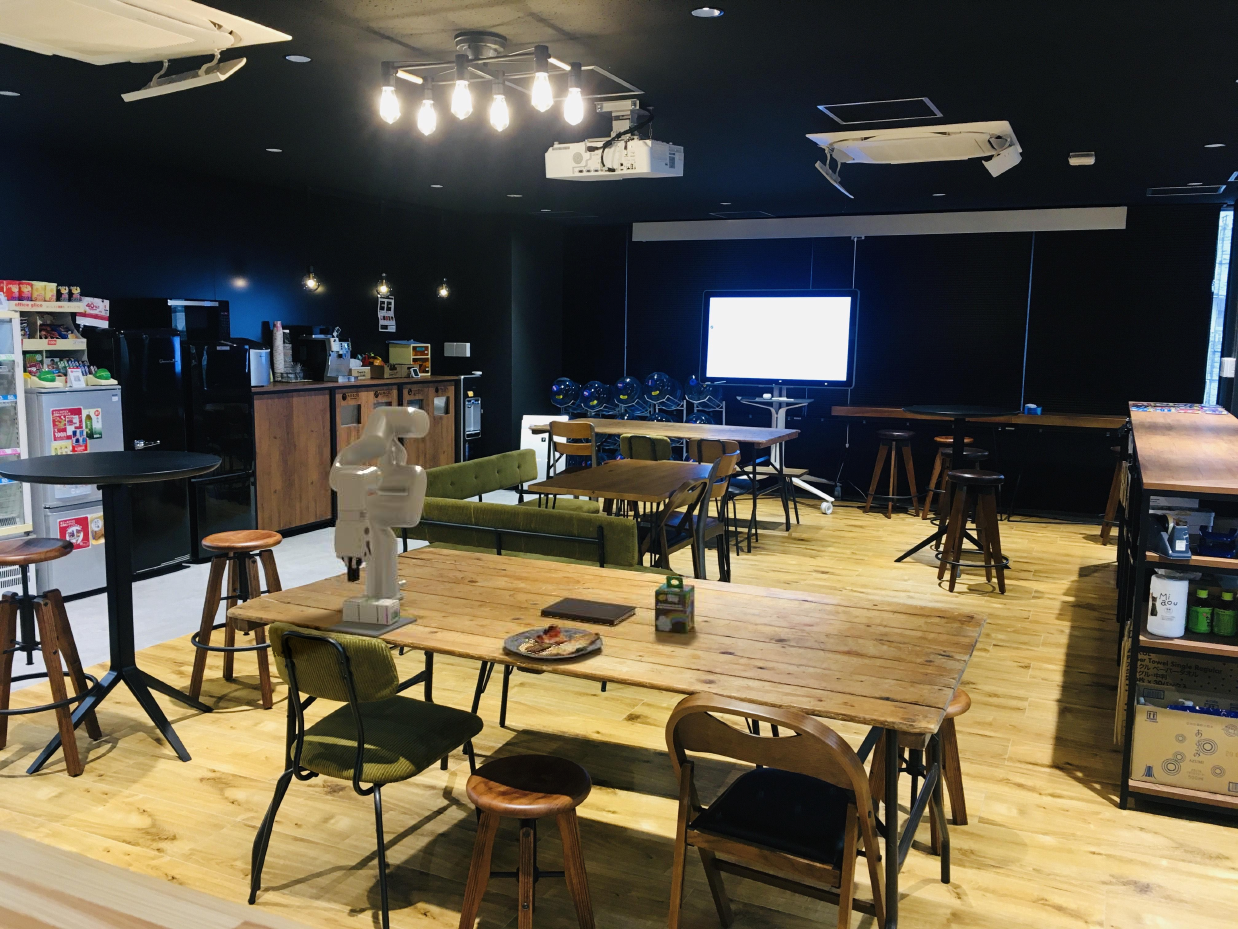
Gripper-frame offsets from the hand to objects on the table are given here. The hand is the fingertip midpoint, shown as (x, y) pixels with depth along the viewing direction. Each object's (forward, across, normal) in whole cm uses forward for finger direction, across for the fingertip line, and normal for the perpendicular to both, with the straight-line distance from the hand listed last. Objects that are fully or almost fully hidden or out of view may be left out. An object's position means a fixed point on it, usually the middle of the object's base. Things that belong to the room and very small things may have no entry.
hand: (353, 580), depth 267 cm
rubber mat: (+11, -7, +1) cm, 13 cm away
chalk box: (+12, -82, -34) cm, 89 cm away
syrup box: (+8, +2, 0) cm, 8 cm away
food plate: (+12, -60, -3) cm, 62 cm away
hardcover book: (+12, -54, -36) cm, 67 cm away
